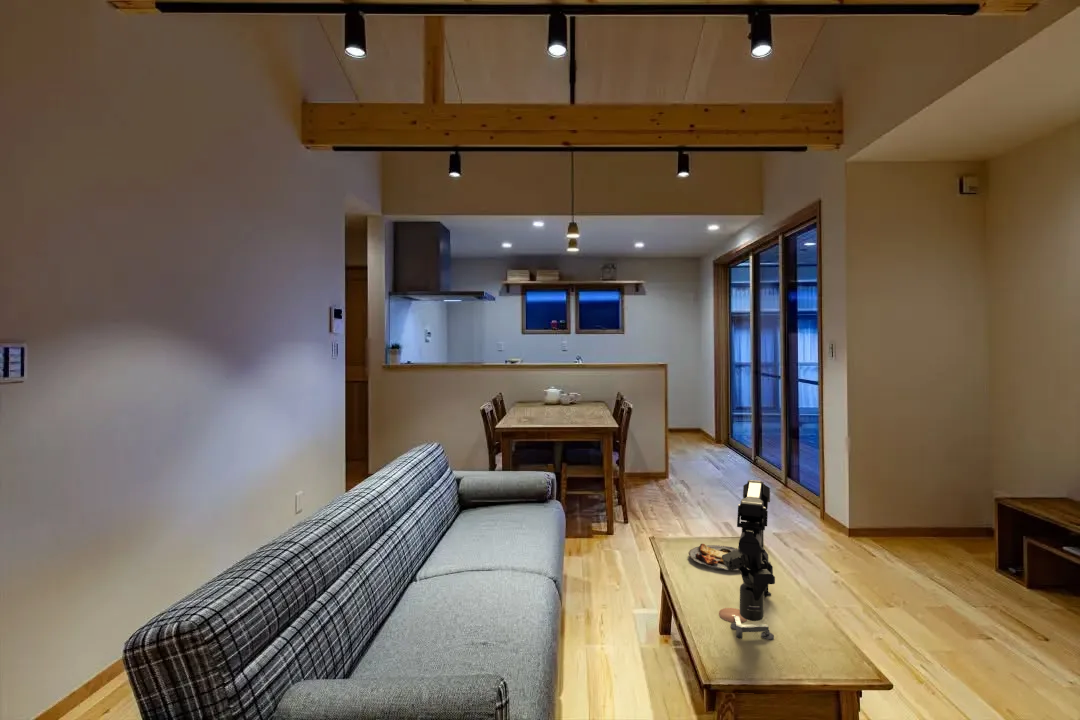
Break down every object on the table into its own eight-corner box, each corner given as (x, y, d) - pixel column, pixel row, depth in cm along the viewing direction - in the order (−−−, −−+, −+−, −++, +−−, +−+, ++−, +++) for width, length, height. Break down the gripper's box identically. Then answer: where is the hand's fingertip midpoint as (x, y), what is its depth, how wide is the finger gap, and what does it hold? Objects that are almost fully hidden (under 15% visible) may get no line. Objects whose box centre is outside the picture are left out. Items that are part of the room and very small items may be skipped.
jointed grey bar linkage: (753, 621, 177) (753, 610, 177) (776, 639, 167) (776, 627, 167) (723, 626, 174) (723, 615, 174) (744, 644, 164) (744, 632, 164)
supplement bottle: (752, 624, 163) (752, 583, 163) (734, 614, 169) (734, 575, 169) (769, 618, 166) (769, 578, 166) (750, 608, 172) (750, 570, 172)
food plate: (680, 563, 224) (680, 554, 223) (699, 545, 243) (700, 537, 243) (744, 579, 209) (745, 570, 209) (759, 559, 229) (760, 551, 228)
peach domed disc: (737, 607, 186) (737, 606, 186) (754, 620, 178) (754, 619, 178) (713, 611, 184) (713, 610, 184) (729, 624, 175) (729, 623, 175)
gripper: (714, 533, 176) (714, 582, 176) (736, 556, 157) (736, 610, 158) (749, 532, 176) (749, 581, 177) (775, 555, 157) (775, 609, 158)
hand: (751, 594), depth 167 cm, fingers closed on supplement bottle, 7 cm apart
